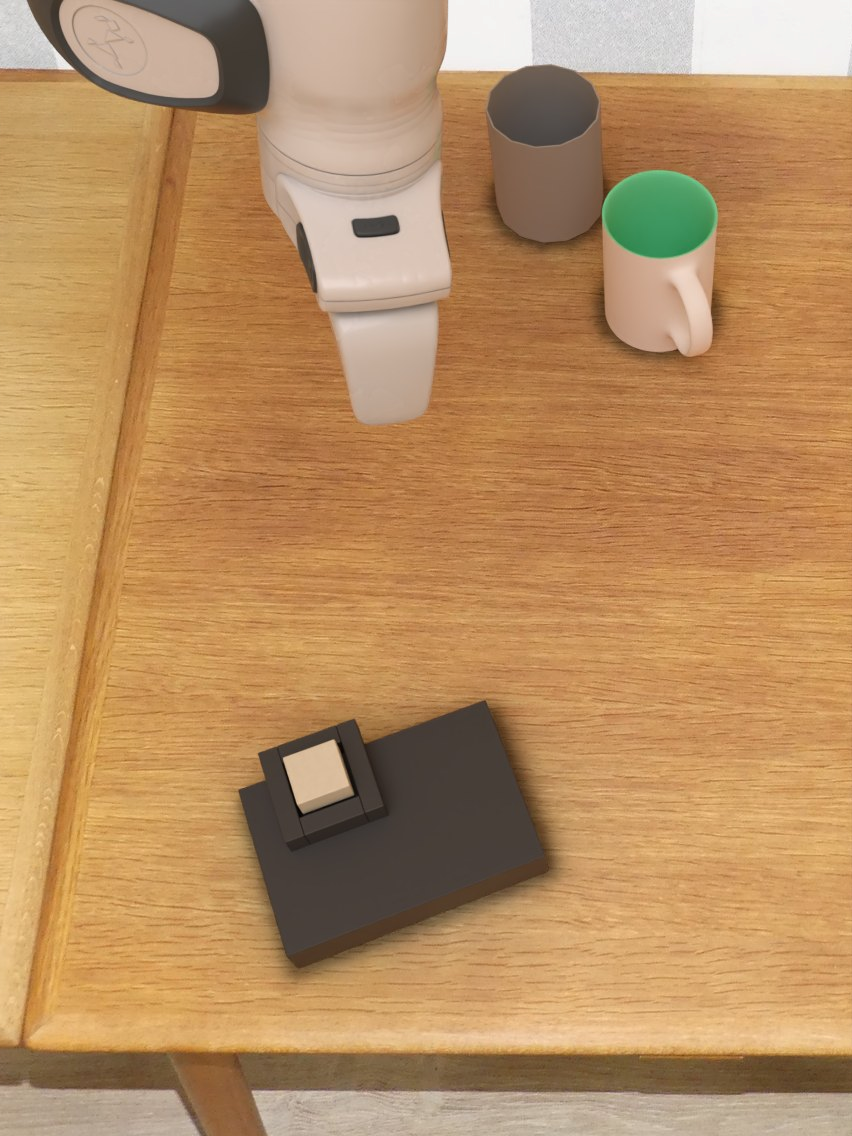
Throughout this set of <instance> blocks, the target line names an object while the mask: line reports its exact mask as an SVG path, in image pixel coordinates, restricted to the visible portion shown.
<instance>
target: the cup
mask: <svg viewBox="0 0 852 1136" xmlns="http://www.w3.org/2000/svg"><path fill="white" fill-rule="evenodd" d="M484 111H485V117H486V118H485V119H486V127H487V135H488V142H489V150H490V159H491V166H492V167H491V168H492V175H493V183H494V190H495V201H496V208H497V210H498V212H499V215H500V217H501V219H502V222H503V224H504V225H505V226H507V227H508V228H509V229H511V230H512V231H513V232H514V233H515V234H517V235H518V236H519V237H521V238H525V239H527V240H532V241H535V242H538V243H555V242H556V243H558V242H567V241H570V240H572V239H574V238H576V237H577V236H581V235H582V234H585V233H586V232H588V231H589V230H590V229H591V228H592V226H593V225H594V224H595V223H596V222H597V220H598V219H599V218H600V217H601V216H602V208H603V204H604V170H603V169H604V167H603V164H604V163H603V138H602V137H603V132H602V131H603V129H602V100H601V98H600V96H599V94H598V92H597V89H596V88H595V85H594V83H593V82H592V81H590V80H589V79H588V78H586V77H585V76H583V75H582V74H581V73H579V72H578V71H577V70H575V69H572V68H568V67H565V66H561V65H560V66H559V65H557V64H552V63H548V64H533V65H525V66H523V67H521V68H517V69H516V70H514V71H511V72H509V73H507V74H504V75H503V76H502V77H501V78H500V79H499V80H498V81H497V83H495V85H494V86H492V88H490V90H489V93H488V95H487V100H486V105H485V109H484Z"/></svg>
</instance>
